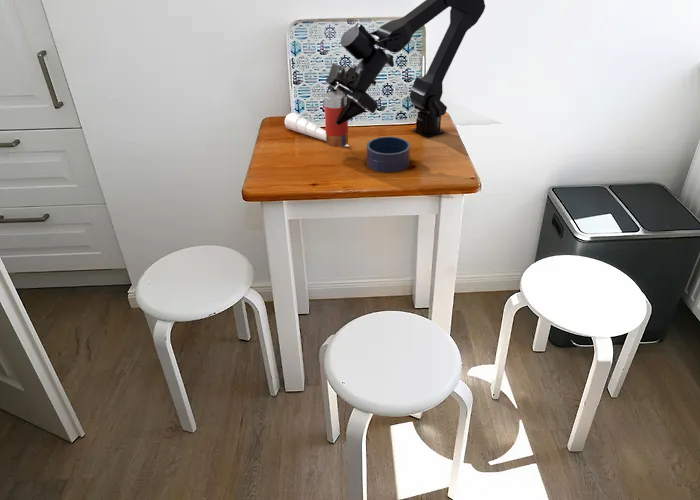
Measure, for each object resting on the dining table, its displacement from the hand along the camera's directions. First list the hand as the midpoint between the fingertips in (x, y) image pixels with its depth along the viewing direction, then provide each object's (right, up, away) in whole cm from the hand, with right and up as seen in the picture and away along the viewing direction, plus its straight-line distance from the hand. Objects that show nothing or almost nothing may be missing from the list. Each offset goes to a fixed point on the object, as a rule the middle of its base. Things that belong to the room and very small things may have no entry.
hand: (331, 120), depth 150 cm
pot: (+15, -11, +2) cm, 19 cm away
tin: (+1, -5, +4) cm, 7 cm away
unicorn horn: (-5, -1, +18) cm, 18 cm away
